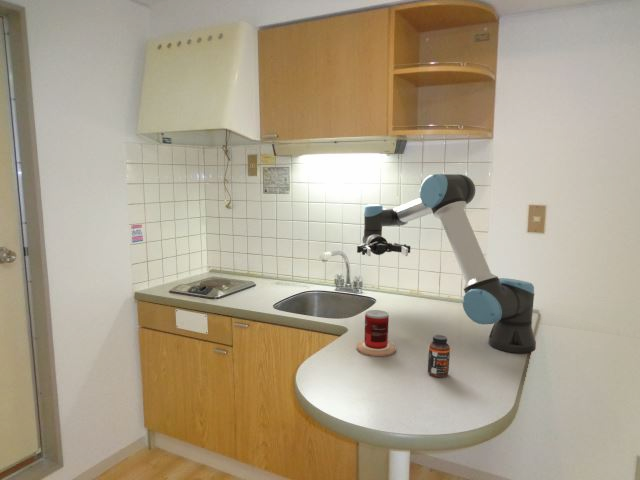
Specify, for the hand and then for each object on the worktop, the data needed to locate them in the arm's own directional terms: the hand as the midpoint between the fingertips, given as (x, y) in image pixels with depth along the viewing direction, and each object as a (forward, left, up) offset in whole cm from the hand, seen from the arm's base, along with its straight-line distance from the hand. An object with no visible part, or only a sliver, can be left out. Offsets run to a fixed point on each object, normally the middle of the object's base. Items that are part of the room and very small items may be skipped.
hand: (388, 252), depth 167 cm
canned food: (-10, +13, -29) cm, 34 cm away
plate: (-10, +13, -30) cm, 35 cm away
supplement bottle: (-35, +10, -31) cm, 48 cm away
